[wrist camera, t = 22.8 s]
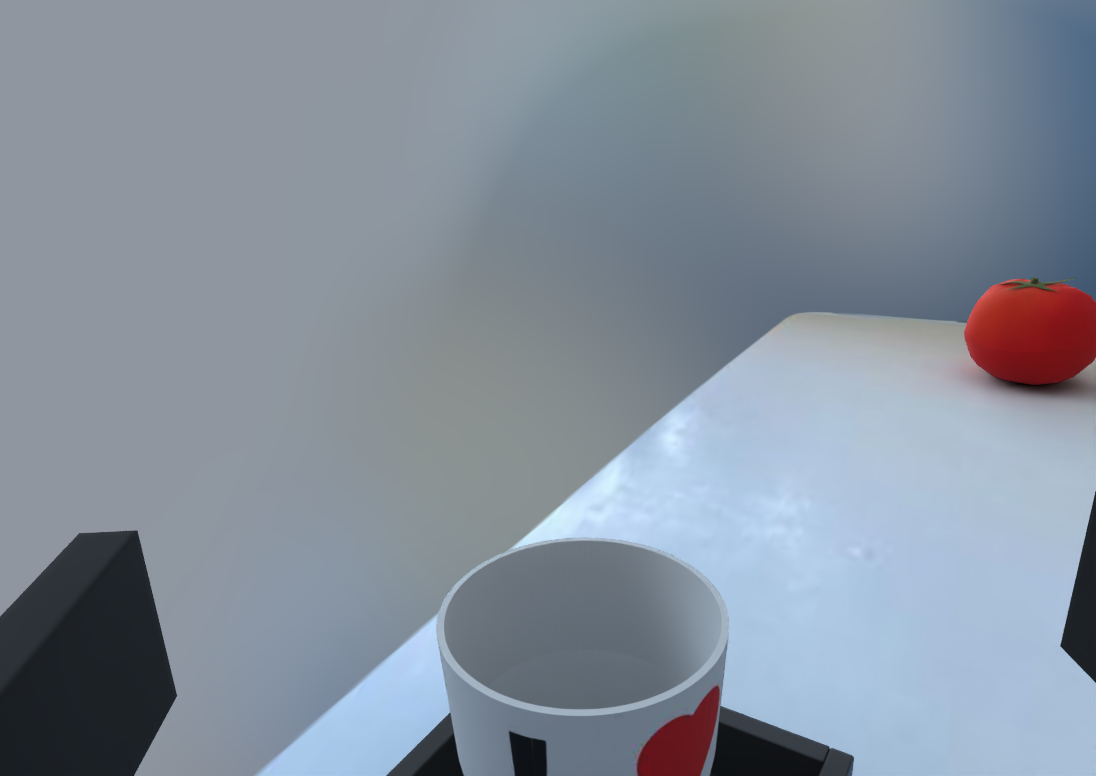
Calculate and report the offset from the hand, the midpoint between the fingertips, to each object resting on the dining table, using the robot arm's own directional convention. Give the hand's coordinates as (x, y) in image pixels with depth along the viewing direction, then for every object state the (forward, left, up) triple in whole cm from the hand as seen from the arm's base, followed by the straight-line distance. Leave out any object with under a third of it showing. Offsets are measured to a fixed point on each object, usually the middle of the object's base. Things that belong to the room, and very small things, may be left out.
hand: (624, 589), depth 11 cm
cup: (-6, +8, -18) cm, 20 cm away
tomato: (+2, +66, -18) cm, 68 cm away
